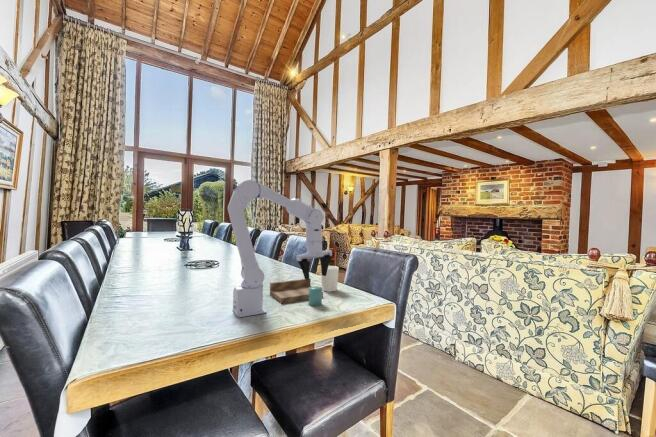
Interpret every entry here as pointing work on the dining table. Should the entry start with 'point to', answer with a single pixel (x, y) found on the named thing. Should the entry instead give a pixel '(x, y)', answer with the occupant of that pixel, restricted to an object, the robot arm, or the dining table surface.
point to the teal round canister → (315, 296)
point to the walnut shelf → (290, 290)
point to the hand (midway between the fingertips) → (315, 277)
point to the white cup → (330, 279)
